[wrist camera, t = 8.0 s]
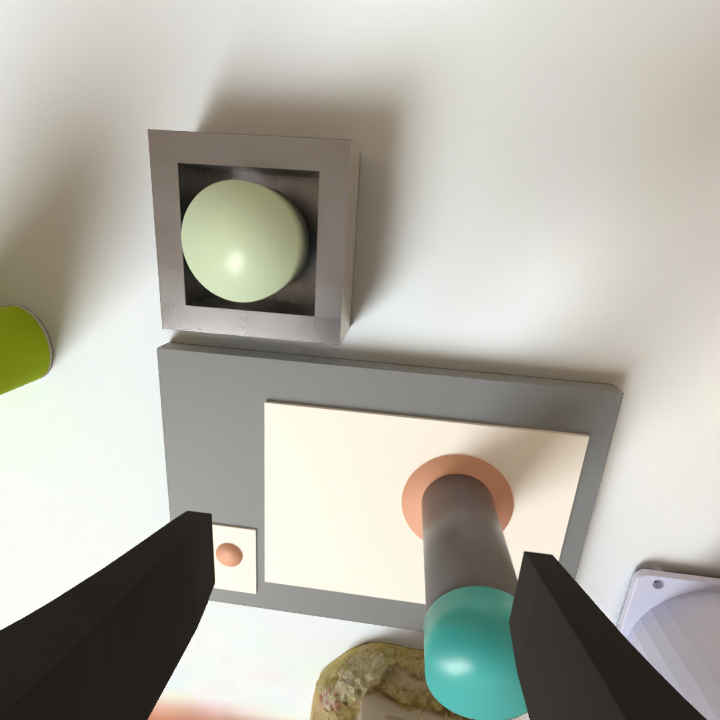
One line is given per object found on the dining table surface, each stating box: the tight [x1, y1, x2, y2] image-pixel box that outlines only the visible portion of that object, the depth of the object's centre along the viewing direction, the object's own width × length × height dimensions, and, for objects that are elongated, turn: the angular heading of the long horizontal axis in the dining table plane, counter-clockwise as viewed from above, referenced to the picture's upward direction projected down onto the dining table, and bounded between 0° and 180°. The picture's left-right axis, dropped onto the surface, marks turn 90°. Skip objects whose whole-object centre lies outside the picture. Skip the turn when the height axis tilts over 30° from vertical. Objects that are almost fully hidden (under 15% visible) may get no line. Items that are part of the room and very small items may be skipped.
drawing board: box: [157, 343, 624, 632], centre depth 21 cm, size 20×14×1 cm
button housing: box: [148, 129, 360, 345], centre depth 17 cm, size 7×7×3 cm
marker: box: [422, 474, 528, 720], centre depth 16 cm, size 3×3×8 cm
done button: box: [181, 180, 309, 302], centre depth 16 cm, size 4×4×2 cm
